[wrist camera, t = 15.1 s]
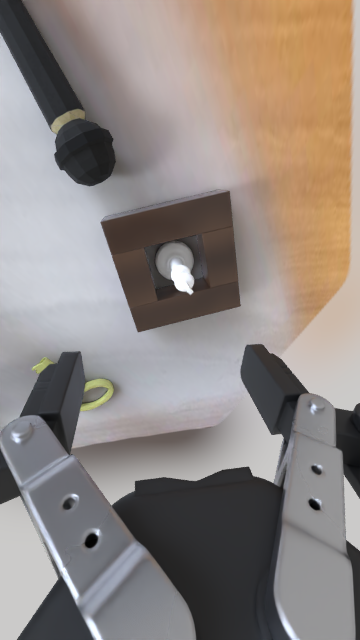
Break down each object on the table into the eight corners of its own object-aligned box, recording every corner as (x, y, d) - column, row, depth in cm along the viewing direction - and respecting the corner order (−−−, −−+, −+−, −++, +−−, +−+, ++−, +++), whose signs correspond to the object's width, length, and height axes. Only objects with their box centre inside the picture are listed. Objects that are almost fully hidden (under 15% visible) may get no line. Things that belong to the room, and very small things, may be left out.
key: (44, 349, 36) (39, 358, 34) (119, 384, 41) (118, 394, 39) (21, 382, 38) (15, 393, 36) (95, 412, 43) (93, 422, 41)
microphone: (-45, -51, 21) (94, 193, 29) (-130, -119, 16) (64, 198, 24) (-4, -114, 19) (134, 167, 26) (-87, -212, 14) (111, 166, 22)
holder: (230, 294, 36) (240, 306, 33) (137, 317, 36) (137, 332, 33) (218, 189, 30) (229, 190, 26) (104, 216, 29) (100, 221, 26)
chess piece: (170, 286, 35) (181, 322, 26) (147, 257, 32) (151, 286, 24) (200, 263, 34) (223, 293, 25) (178, 232, 31) (194, 252, 23)
